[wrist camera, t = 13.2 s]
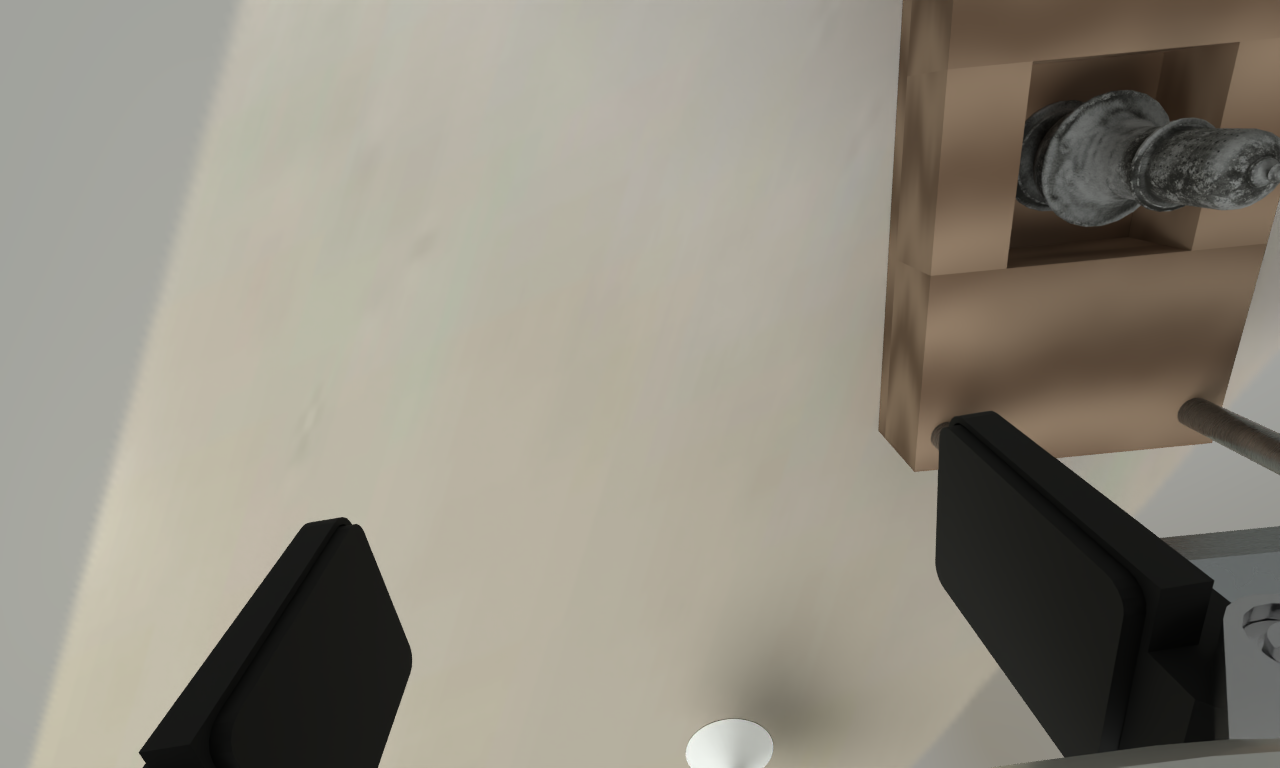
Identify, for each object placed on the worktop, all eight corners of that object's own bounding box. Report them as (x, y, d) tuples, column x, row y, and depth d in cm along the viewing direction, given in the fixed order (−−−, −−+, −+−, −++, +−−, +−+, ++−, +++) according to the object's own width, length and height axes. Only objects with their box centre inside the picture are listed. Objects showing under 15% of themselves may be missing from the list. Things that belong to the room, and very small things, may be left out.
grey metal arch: (920, 403, 33) (1103, 568, 20) (1231, 373, 33) (1599, 520, 21) (914, 471, 34) (1082, 663, 22) (1212, 442, 34) (1544, 618, 22)
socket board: (904, -31, 30) (958, -60, 25) (1245, -64, 30) (1361, -99, 25) (878, 430, 39) (914, 471, 34) (1140, 405, 39) (1212, 442, 34)
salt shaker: (1000, 106, 31) (1213, 96, 20) (1121, 82, 31) (1404, 58, 20) (997, 226, 34) (1188, 277, 22) (1110, 205, 33) (1359, 245, 22)
